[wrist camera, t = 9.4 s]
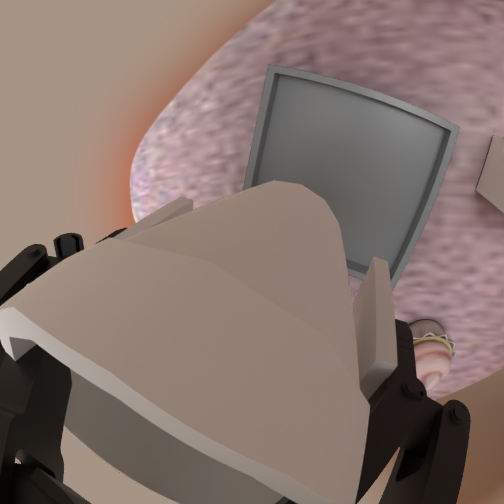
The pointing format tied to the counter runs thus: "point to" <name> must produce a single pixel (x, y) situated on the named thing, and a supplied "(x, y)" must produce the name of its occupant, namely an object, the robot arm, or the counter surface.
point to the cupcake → (431, 352)
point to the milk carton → (493, 174)
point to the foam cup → (211, 351)
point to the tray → (353, 160)
